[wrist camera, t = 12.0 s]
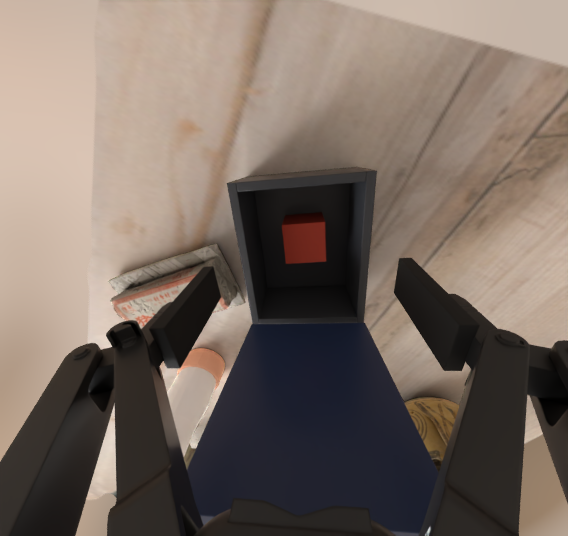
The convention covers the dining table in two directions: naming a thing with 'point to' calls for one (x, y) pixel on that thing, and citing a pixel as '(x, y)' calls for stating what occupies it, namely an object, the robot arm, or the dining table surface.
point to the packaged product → (171, 284)
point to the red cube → (304, 238)
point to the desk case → (314, 275)
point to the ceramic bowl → (433, 423)
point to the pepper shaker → (194, 391)
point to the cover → (313, 430)
